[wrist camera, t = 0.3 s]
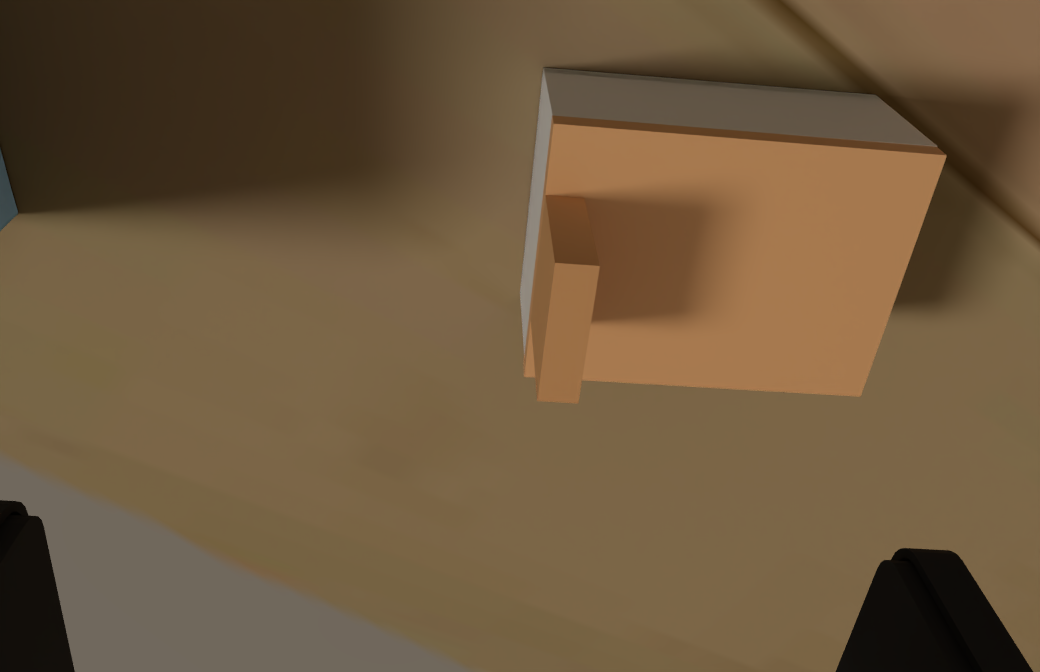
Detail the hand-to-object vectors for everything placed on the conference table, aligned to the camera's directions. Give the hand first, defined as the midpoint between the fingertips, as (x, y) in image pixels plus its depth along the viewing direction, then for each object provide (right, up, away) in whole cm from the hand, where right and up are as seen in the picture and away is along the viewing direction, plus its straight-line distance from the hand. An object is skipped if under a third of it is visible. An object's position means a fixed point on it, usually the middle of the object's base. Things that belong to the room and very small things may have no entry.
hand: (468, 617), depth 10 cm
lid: (+9, +7, +31) cm, 33 cm away
